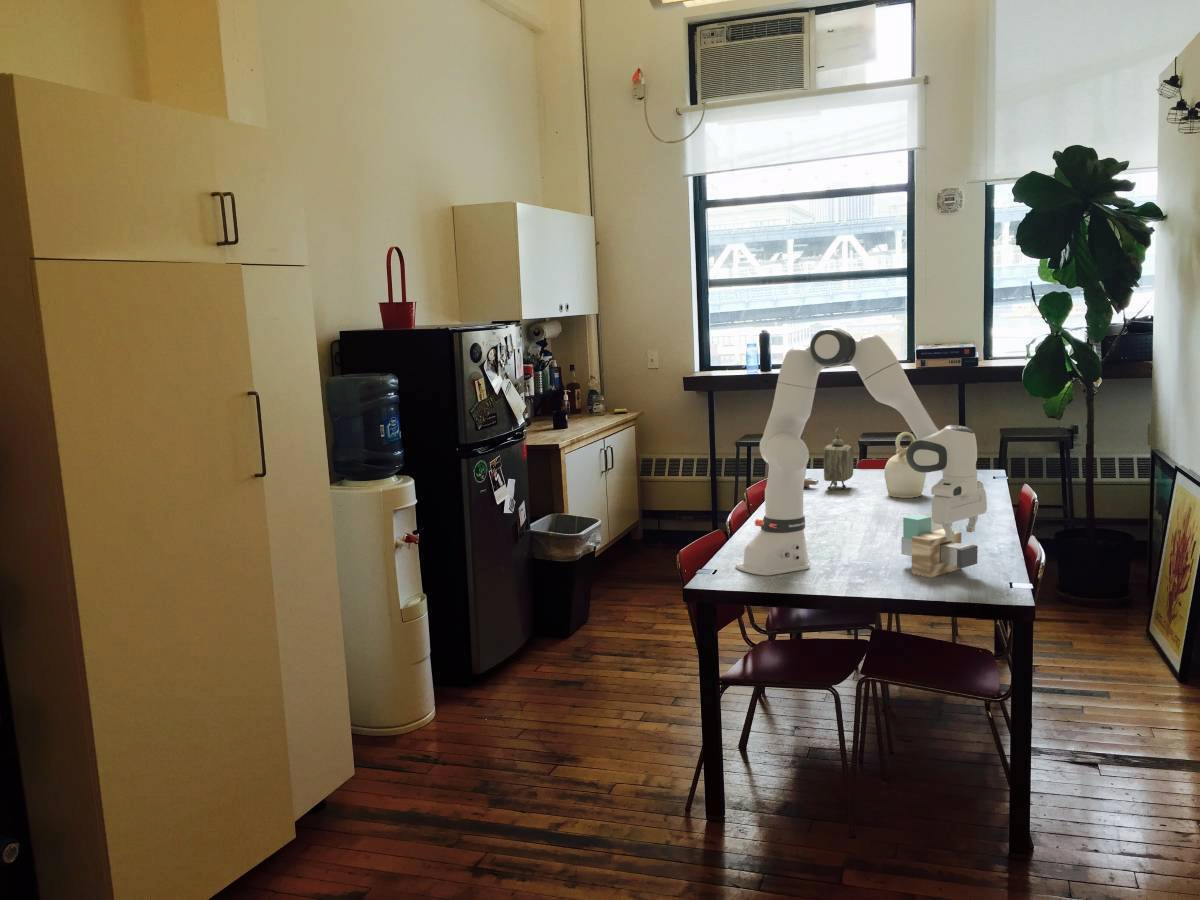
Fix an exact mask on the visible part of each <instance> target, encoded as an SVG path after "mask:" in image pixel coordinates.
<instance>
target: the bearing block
mask: <svg viewBox="0 0 1200 900" xmlns="http://www.w3.org/2000/svg"><path fill="white" fill-rule="evenodd" d="M953 531H954V538H951V539H949V538H946V537H945V530H944V529H941V530H937V531H933V532H929V533H925V534H921V535H917V536H913V537H912V556H911V574H912V573H913V575H916V574H917V575H916V576H920V575H921V576H920V577H924V576H925V577H924V578H928V579H930V578H931V579H932V578H935V577H938V576H940V575H944V574H947V572H948V573H950V572H954V571H957V570H961V569H962V568H958V567H957V566H954V565H950V564H945V563H940V544H941V543H945V542H949V541H950V542H955V543H960V544H962V531H958V530H957V531H956V530H953ZM937 575H938V576H937Z"/></svg>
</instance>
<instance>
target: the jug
mask: <svg viewBox="0 0 1200 900" xmlns="http://www.w3.org/2000/svg"><path fill="white" fill-rule="evenodd" d="M904 437H909V438H910V444H909V446H910V445H911V444H912V443H913V442H914V441H916V436H915V435H914V434H913V433H911V432H909V431H903V432H901V433H899V434H898V435H897V436H896V438H895V443H894V444H895V448H896V451H895V454H894V455H893V456H891V457H890V458H889V459H888V460H887V462H886V464H885V466H884V470H883V471H884V472H883V473H884V474H883V475H884V479H885V484H886V489H887V493H888V496H889V497H891V496H892V497H891V498H896V497H899V498H898V499H911V498H912V499H913V497H916V498H919V496H920V497H921V496H922V493H923V490H924V487H925V483H926V478H927V477H926V475H927V473H922V472H917V471H915V470H914V469H912V468H911V467H910V465H909V464H908V462H907V458H906V452H907V449H908V447H909V446H907V447H902V446H901V441H902V439H903V438H904Z"/></svg>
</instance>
